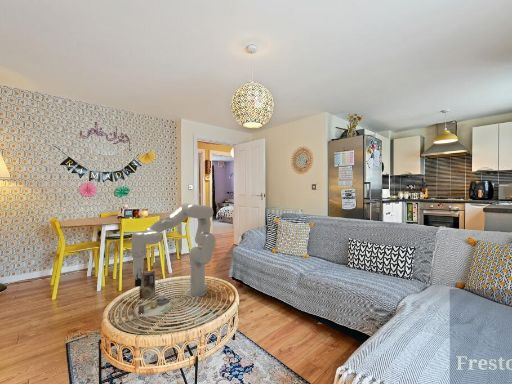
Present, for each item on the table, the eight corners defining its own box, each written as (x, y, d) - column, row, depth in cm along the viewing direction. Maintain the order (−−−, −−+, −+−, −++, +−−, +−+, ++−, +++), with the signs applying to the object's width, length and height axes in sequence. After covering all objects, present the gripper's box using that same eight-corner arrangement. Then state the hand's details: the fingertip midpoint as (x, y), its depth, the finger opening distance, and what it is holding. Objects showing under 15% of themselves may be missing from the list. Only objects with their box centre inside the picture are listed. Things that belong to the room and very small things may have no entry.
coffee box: (155, 294, 164) (155, 270, 164) (154, 299, 158) (154, 274, 158) (140, 296, 161) (140, 272, 161) (139, 300, 155) (139, 275, 155)
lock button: (162, 298, 153) (162, 292, 153) (166, 299, 151) (166, 293, 151) (157, 300, 150) (157, 294, 150) (161, 302, 148) (161, 295, 148)
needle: (154, 304, 147) (154, 298, 147) (158, 306, 145) (158, 299, 145) (136, 313, 137) (136, 306, 137) (140, 314, 135) (140, 308, 135)
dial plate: (156, 299, 158) (156, 294, 158) (178, 307, 148) (178, 302, 148) (127, 312, 141) (127, 307, 141) (149, 322, 131) (149, 316, 131)
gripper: (130, 251, 145) (130, 282, 145) (132, 257, 132) (131, 292, 132) (144, 250, 148) (144, 280, 148) (147, 256, 135) (146, 289, 135)
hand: (138, 285), depth 140 cm, fingers closed
